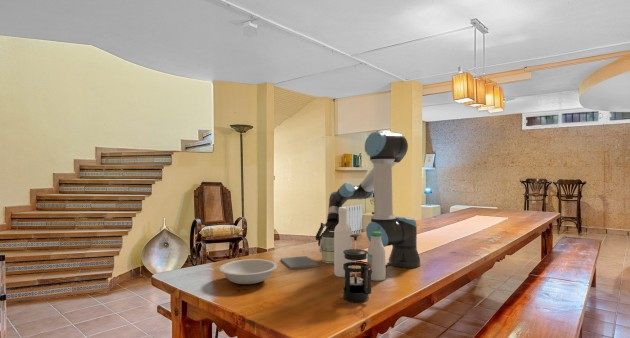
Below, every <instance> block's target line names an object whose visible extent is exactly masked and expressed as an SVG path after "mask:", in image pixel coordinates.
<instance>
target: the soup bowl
mask: <svg viewBox="0 0 630 338" xmlns="http://www.w3.org/2000/svg"><path fill="white" fill-rule="evenodd" d="M277 268H278V263H276V262H275V261H272V260H270V259H269V260H268V259H263V258H262V259H260V258H247V259H238V260H231V261H229V262H225V263H223V264H222V265H221V264H220V266H219V267H218V271H219V273H222V274H223V276H224V277H225V278H226V279H227V280H229V281H230V282H232V283H234V284H237V285H238V284H239V285H253V284H258V283H261V282H264V281H265V280H267V279H268V278H269V277H270V276H271V275H272V273H273V272H274V270H276V269H277Z"/></svg>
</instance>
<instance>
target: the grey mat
mask: <svg viewBox="0 0 630 338" xmlns="http://www.w3.org/2000/svg"><path fill="white" fill-rule="evenodd" d="M280 261H281V263H283V264H284V265H285V266H286V267H288V268H289V269H290V270H297V269H306V268H316V267H317V268H318V267H319V266H320V265H319V263H317V262H316V261H315V260H313V259H311V258H310V257H308V256H306V255H301V256H293V257H292V256H291V257H282V258H281V257H280Z"/></svg>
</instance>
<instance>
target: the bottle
mask: <svg viewBox="0 0 630 338" xmlns="http://www.w3.org/2000/svg"><path fill="white" fill-rule="evenodd" d="M338 211H339V223H338V224H337V225H336V227H335V230H334V231H333V232H334V263H333V264H334V267H333V269H334V271H333V272H334V273H333V274H334V276H336V277H338V278H345V270H344V269H343V264H345V263H348V262H353V260H348V259H345V257H344V253H343V251H344V250H348V249H353V248H352V247H353V241H352V240H353V237H350V235H353V234H352V233H353V231H352V228H351V225H349V223H348V208H347V207H346V206H342V207H339V210H338ZM348 268H353V266H348ZM352 276H353V272H350V277H352Z"/></svg>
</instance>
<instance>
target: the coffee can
mask: <svg viewBox="0 0 630 338" xmlns="http://www.w3.org/2000/svg"><path fill="white" fill-rule="evenodd" d="M323 232H324V231H323ZM323 232H322V233H321V234H322V252H321V262H323V263H324V264H334V231H330V232H324V233H323Z"/></svg>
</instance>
